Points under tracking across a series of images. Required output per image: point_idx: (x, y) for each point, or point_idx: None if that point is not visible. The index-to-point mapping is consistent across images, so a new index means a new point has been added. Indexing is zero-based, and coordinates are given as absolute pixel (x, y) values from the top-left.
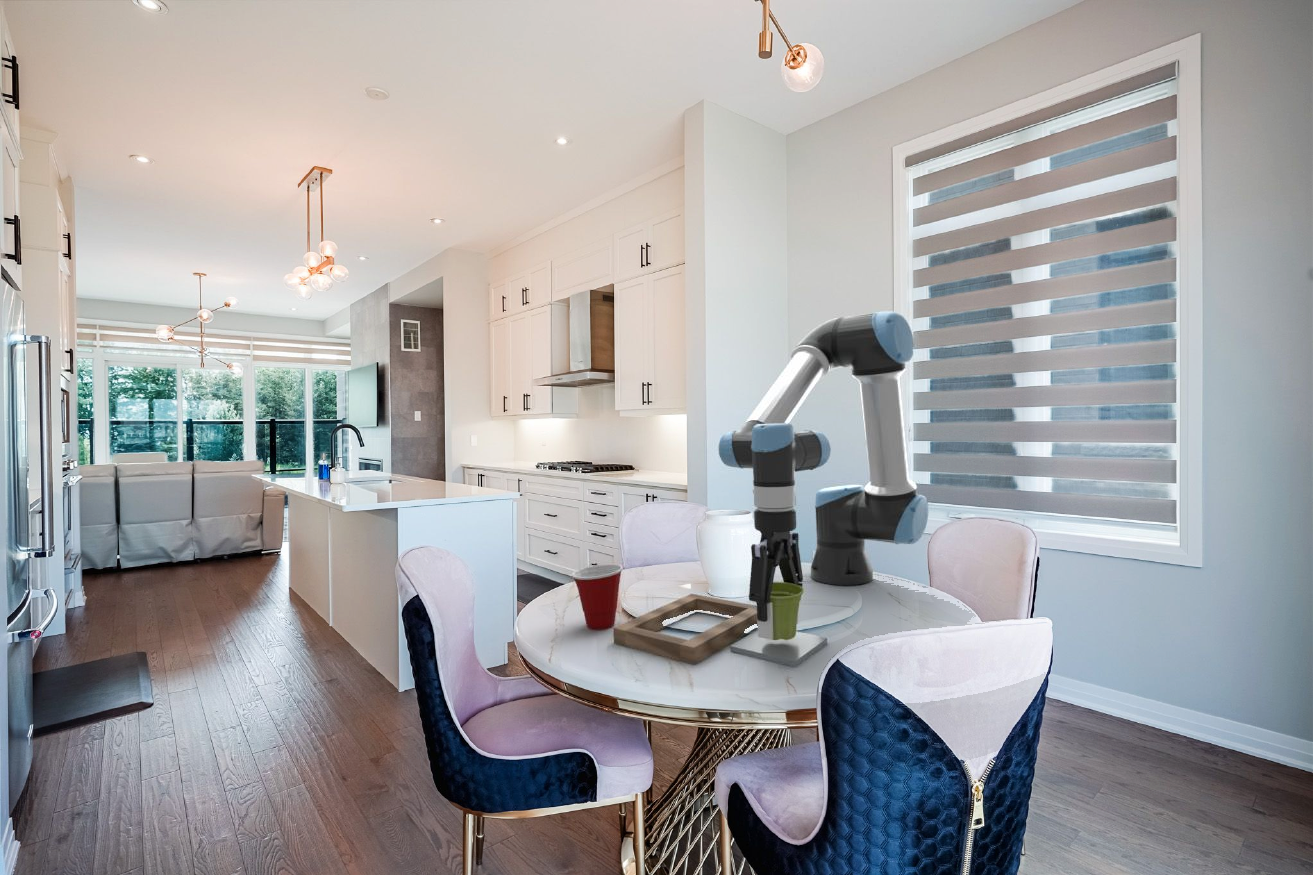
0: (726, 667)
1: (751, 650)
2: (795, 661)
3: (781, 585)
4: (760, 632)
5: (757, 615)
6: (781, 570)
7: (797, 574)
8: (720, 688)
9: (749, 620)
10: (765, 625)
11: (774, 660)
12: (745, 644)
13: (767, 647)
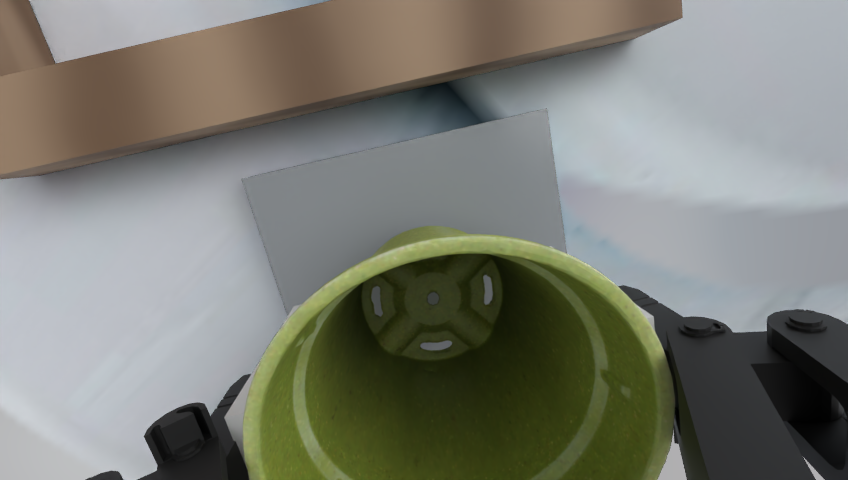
0: (137, 278)
1: (278, 274)
2: None
3: (626, 336)
4: None
5: (224, 399)
6: (702, 468)
7: (815, 450)
8: (15, 382)
9: (482, 66)
10: None
11: None
12: (304, 214)
13: None
